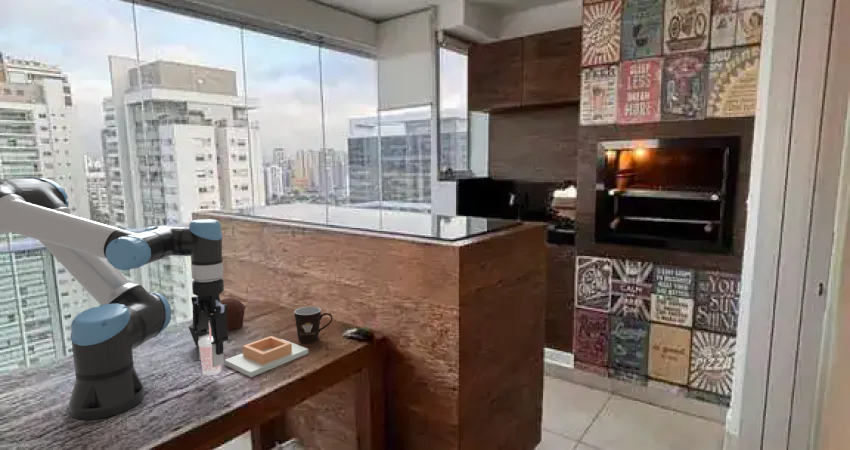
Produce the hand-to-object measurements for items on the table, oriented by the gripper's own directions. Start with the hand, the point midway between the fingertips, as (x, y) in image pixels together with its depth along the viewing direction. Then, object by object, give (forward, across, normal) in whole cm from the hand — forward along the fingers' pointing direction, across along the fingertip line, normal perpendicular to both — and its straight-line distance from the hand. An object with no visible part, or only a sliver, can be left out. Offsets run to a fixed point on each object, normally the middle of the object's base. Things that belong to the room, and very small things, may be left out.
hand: (211, 361), depth 125 cm
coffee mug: (+5, +1, -35) cm, 36 cm away
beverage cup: (+3, 0, 0) cm, 3 cm away
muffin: (+6, +34, -25) cm, 42 cm away
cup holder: (+5, 0, -17) cm, 18 cm away
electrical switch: (+6, +22, -10) cm, 25 cm away
